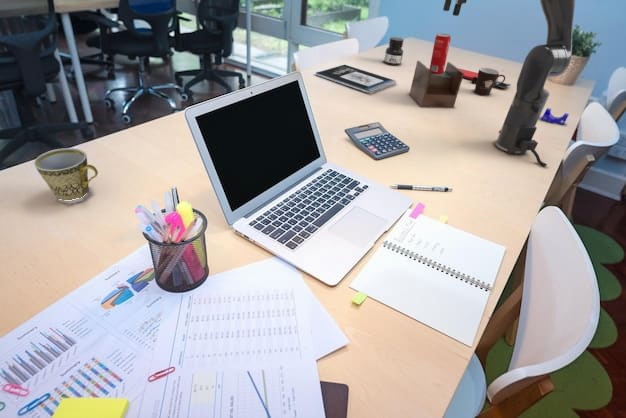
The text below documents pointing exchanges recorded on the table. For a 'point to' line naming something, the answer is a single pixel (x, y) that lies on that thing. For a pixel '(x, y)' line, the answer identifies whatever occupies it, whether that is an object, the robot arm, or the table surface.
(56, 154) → the ceramic cup
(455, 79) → the shelf
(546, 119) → the cable holder
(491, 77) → the coffee mug
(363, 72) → the sketchbook
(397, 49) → the ink bottle
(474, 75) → the red board with handle
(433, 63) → the beverage can
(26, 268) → the table surface
